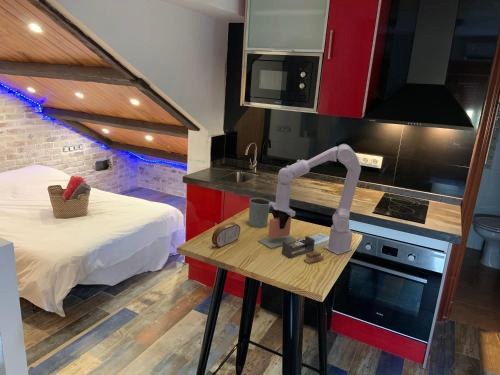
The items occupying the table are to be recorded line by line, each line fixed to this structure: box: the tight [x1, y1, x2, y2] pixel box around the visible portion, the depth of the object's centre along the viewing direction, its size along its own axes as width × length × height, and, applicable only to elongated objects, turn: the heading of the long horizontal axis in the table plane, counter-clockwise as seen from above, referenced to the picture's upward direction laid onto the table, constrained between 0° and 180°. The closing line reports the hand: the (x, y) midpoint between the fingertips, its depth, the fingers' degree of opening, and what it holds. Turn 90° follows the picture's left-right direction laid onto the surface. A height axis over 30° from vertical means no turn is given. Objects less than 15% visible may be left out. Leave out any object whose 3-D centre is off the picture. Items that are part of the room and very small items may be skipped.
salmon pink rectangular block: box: [267, 216, 292, 239], centre depth 158 cm, size 10×2×8 cm, turn 128°
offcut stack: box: [303, 249, 325, 265], centre depth 144 cm, size 8×3×4 cm, turn 127°
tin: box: [211, 221, 241, 248], centre depth 153 cm, size 15×3×8 cm, turn 141°
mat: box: [257, 234, 299, 250], centre depth 160 cm, size 16×8×1 cm, turn 128°
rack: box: [281, 235, 316, 259], centre depth 150 cm, size 14×5×5 cm, turn 128°
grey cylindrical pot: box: [248, 197, 272, 229], centre depth 176 cm, size 10×10×12 cm
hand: (279, 227), depth 158 cm, fingers closed on salmon pink rectangular block, 2 cm apart
